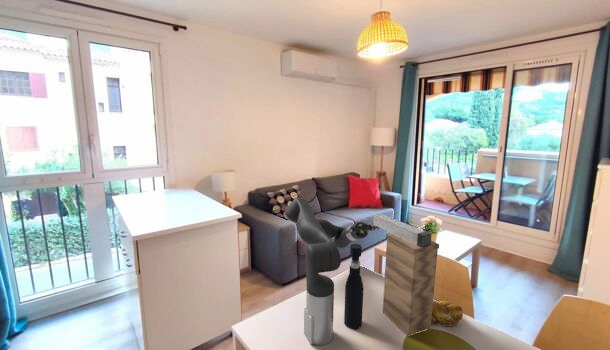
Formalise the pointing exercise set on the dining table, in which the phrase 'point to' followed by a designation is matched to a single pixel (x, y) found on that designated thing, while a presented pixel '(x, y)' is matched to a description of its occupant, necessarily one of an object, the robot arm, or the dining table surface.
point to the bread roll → (446, 313)
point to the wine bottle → (354, 291)
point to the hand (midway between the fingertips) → (375, 224)
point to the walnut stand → (409, 284)
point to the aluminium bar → (403, 230)
